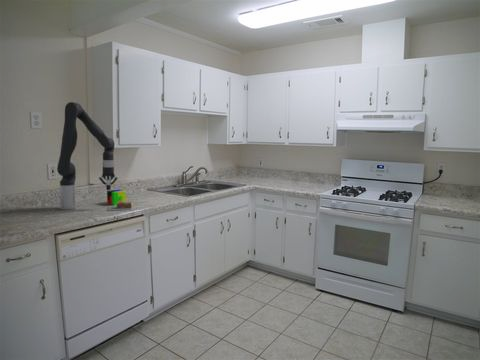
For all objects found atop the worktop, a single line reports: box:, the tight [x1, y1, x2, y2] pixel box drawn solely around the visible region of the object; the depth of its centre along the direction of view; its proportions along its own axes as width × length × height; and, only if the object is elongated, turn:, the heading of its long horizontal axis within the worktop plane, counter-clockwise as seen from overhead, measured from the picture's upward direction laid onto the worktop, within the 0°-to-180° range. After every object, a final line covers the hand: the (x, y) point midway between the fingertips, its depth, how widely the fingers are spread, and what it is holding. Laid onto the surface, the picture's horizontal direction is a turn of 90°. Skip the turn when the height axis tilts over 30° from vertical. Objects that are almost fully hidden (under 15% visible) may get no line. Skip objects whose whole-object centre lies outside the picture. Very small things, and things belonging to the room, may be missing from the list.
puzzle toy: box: [106, 189, 127, 207], centre depth 254 cm, size 10×10×10 cm
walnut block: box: [116, 201, 132, 209], centre depth 239 cm, size 4×4×10 cm
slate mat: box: [107, 205, 132, 212], centre depth 238 cm, size 16×12×1 cm
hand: (108, 190), depth 235 cm, fingers closed
